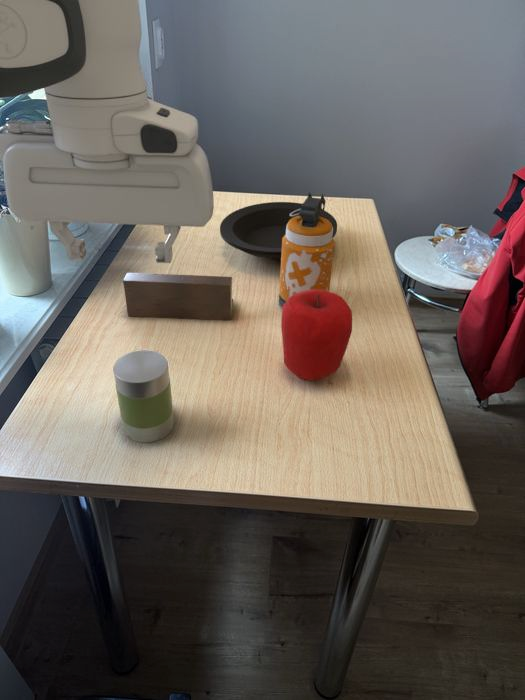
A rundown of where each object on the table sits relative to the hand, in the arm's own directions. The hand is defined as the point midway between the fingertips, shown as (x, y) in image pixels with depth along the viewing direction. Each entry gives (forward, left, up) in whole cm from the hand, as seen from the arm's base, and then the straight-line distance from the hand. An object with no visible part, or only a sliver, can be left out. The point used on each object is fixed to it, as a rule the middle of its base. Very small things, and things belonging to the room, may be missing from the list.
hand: (121, 259), depth 57 cm
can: (0, -1, -24) cm, 24 cm away
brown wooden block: (+15, +24, -24) cm, 37 cm away
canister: (+36, +17, -24) cm, 47 cm away
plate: (+43, +39, -24) cm, 63 cm away
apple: (+26, -1, -24) cm, 36 cm away
